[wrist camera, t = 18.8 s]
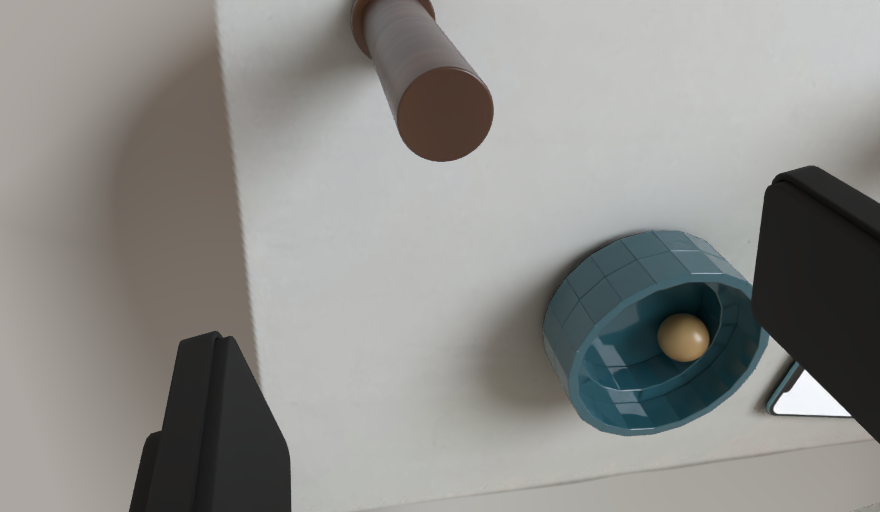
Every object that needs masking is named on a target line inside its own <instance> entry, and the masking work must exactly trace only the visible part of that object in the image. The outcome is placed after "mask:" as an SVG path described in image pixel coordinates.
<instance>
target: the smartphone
mask: <svg viewBox="0 0 880 512" xmlns="http://www.w3.org/2000/svg"><path fill="white" fill-rule="evenodd" d="M766 410H767V411H768V413H769V414H770V415H773V416H796V417H828V418H853V417H852V416H851V415H850V414H849V413H848V412H847V411H846V410H845V409H844V408H843V407H842V406H841V405H840V404H839V403H838V402H837V401H836V400H835V399H834V398H833V397H832V396H831V395H830V394H829V393H828V392H827V391H826V390H825V389H824V388H823V387H822V386H821V385H820V384H819V383H818V382H817V381H816V380H815V379H814V378H813V377H812V376H811V375H810V374H809V373H808V372H807V371H806V370H805V369H804V368H803V367H802V366H801V365H800V364H799V363H798V362H797V361H796V362H795V363H794V365H793V366H792V368H791V369H790V371H789V372H788V373H787V375H786V376H785V378H784V379H783V381H782V382H781V384H780V385H779V387H778V388H777V389H776V391H775V392H774V394H773V395H772V397H771V398H770V400H769V401H768V403H767V405H766Z"/></svg>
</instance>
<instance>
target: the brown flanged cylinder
mask: <svg viewBox="0 0 880 512" xmlns="http://www.w3.org/2000/svg"><path fill="white" fill-rule="evenodd" d="M351 28H352V32H353V35H354V38H355V41H356V43H357V45H358V46H359V48H360V49H361V50H362V52H363V53H364V54H365V55H366V56H367V57H369V58H370V59H372V60H373V63H374V65H375V68H376V71H377V74H378V76H379V79H380V82H381V85H382V87H383V90H384V93H385V96H386V98H387V101H388V104H389V106H390V109H391V112H392V115H393V117H394V120H395V123H396V126H397V128H398V131H399V134H400V136H401V138H402V140H403V142H404V143H405V144H406V146H407V147H408V148H409V149H410V150H411V151H412V152H414V153H415V154H416V155H418V156H420V157H422V158H424V159H427V160H431V161H437V162H446V161H453V160H457V159H459V158H462V157H464V156H466V155H468V154H469V153H471V152H472V151H474V150H475V149H476V148H477V147H478V146H479V145H480V144H481V143H482V142H483V140H484V139H485V138H486V136H487V134H488V132H489V130H490V128H491V125H492V121H493V115H494V107H493V100H492V96H491V94H490V91H489V89H488V88H487V86H486V85H485V83H484V82H483V81H482V79H481V78H480V77H479V76H478V75H477V73H476V72H475V71H474V70H473V68H472V67H471V66H470V65H469V63H468V62H467V61H466V60H465V58H464V57H463V56H462V55H461V53H460V52H459V51H458V50H457V48H456V47H455V46H454V45H453V43H452V42H451V41H450V40H449V38H448V37H447V36H446V35H445V33H444V32H443V31H442V30H441V28H440V27H439V26H438V25H437V23H436V22H435V13H434V9H433V6H432V4H431V2H430V0H355V1H354V3H353V6H352V10H351Z"/></svg>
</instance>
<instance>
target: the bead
mask: <svg viewBox="0 0 880 512" xmlns="http://www.w3.org/2000/svg"><path fill="white" fill-rule="evenodd" d="M657 338H658V343H659V346H660V348H661V350H662V351H663V352H664V353H665V354H666V355H667V356H668V357H670V358H671V359H673V360H676V361H680V362H689V361H693V360H696V359H698V358H699V357H701V356H702V355H703V354H704V353H705V351H706V350H707V348H708V345H709V332H708V329H707V327H706V325H705V324H704V323H703V322H702V321H701V320H700V319H699V318H698V317H696V316H694V315H691V314H688V313H677V314H673V315H671V316H669V317H667V318H666V319H665V320H664V321H663V322H662V323H661V325H660V327H659V329H658V335H657Z"/></svg>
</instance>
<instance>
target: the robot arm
mask: <svg viewBox="0 0 880 512" xmlns="http://www.w3.org/2000/svg"><path fill="white" fill-rule="evenodd" d="M751 310H752V313H753V316H754V318H755V320H756V321H757V322H758V324H759V325H760V326H761V327H762V328H763V329H764V330H765V331H766V332H767V333H768V334H769V335H770V336H771V337H772V338H773V339H774V340H775V341H776V342H777V343H778V344H779V345H780V346H781V347H782V348H784V349H785V350H786V351H787V352H788V353H789V354H790V355H791V356H792V357H793V358H794V359H795V360H796V361H797V362H798V363H799V364H800V365H801V366H802V367H803V368H804V369H805V370H806V371H807V372H808V373H809V374H810V375H811V376H812V377H813V378H814V379H815V380H816V381H817V382H818V383H819V384H820V385H821V386H822V387H823V388H824V389H825V390H826V391H827V392H828V393H829V394H830V395H831V396H832V397H833V398H834V399H835V400H836V401H837V402H838V403H839V404H840V405H841V406H842V407H843V408H844V409H845V410H846V411H847V412H848V413H849V414H850V415H851V416H852V417H853V418H854V419H855V420H856V421H857V422H858V423H859V424H860V425H861V426H862V427H863V428H864V429H865V430H866V431H867V432H868V433H869V434H870V435H871V436H872V437H873V438H874V439H875V440H876V441H877V442H878V443H880V203H878V202H876V201H875V200H873V199H871V198H870V197H868V196H866V195H864V194H863V193H861V192H859V191H858V190H856V189H854V188H853V187H851V186H849V185H848V184H846V183H844V182H842V181H841V180H839V179H837V178H836V177H834V176H832V175H831V174H829V173H827V172H826V171H824V170H822V169H820V168H819V167H816V166H806V167H802V168H799V169H795V170H791V171H788V172H784V173H781V174H779V175H777V176H776V177H775V178H774V179H773V181H772V185H770V186H768V187H767V189H766V191H765V195H764V203H763V211H762V219H761V227H760V234H759V242H758V250H757V258H756V265H755V273H754V281H753V289H752V297H751ZM129 512H291V471H290V455H289V450H288V447H287V443H286V441H285V439H284V437H283V435H282V433H281V431H280V429H279V427H278V425H277V423H276V421H275V419H274V417H273V415H272V413H271V410H270V408H269V406H268V404H267V402H266V400H265V398H264V396H263V394H262V392H261V390H260V388H259V386H258V384H257V383H256V380H255V378H254V376H253V374H252V372H251V370H250V368H249V366H248V364H247V362H246V360H245V358H244V356H243V354H242V352H241V350H240V348H239V346H238V344H237V342H236V340H235V339H234V338H233V336H228V337H225V338H223V337H222V335H221V334H220V333H219V332H218V331H213V332H210V333H206V334H202V335H199V336H195V337H192V338H188V339H184V340H182V341H181V342H180V344H179V346H178V351H177V357H176V361H175V366H174V372H173V376H172V381H171V386H170V391H169V396H168V402H167V407H166V411H165V417H164V421H163V426H162V431H158V432H155V433H151V434H150V435H149V436H148V438H147V439H146V442H145V444H144V447H143V452H142V456H141V460H140V465H139V469H138V474H137V478H136V482H135V487H134V491H133V496H132V500H131V505H130V509H129ZM852 512H880V503H876V504H873V505H870V506H867V507H864V508H861V509H858V510H854V511H852Z"/></svg>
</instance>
